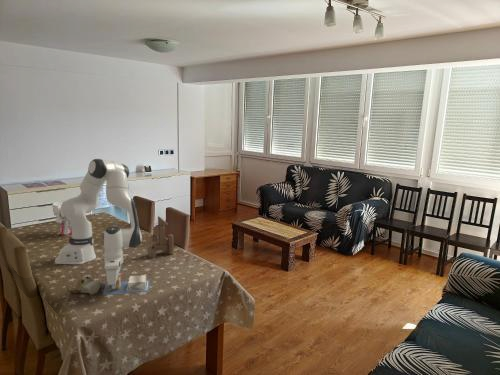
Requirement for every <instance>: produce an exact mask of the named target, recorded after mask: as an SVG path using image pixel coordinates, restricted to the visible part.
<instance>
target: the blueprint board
mask: <svg viewBox="0 0 500 375" xmlns="http://www.w3.org/2000/svg"><path fill="white" fill-rule="evenodd" d="M150 285H151V279H146V288H145V289H142V290H129V280H122V281H121V286H120V290H109V285H108V283H107V282H106V283H105V285H104V289H103V292H102V294H101V295H102V296H109V295H110V296H111V295H123V294H137V293H139V294H140V293H150V288H151V286H150Z"/></svg>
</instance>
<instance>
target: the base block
mask: <svg viewBox="0 0 500 375" xmlns="http://www.w3.org/2000/svg"><path fill="white" fill-rule="evenodd" d="M146 280H147V275H146V274H143V275H130V276H129V280H128V281H129V290H142V289H145V288H146Z"/></svg>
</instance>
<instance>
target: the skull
mask: <svg viewBox="0 0 500 375" xmlns="http://www.w3.org/2000/svg"><path fill="white" fill-rule="evenodd" d="M67 200H68V199H65V200H58V201H54V202H52V211H53V216H55V217H56V218H55V219H56V220H55V221H56V223H57V224H59V226H60V231H59V232H57V234H56V235H57V236H58V235H61V237H63V236H64V235H65V236H66V235H67V236H68V235H69V234H70V236H71V235H72V229H71V224H70V221H69V219H68V218H67V217H65V216H64V215H63V214H62V212H61V205H62V203H63V202H65V201H67Z"/></svg>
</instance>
